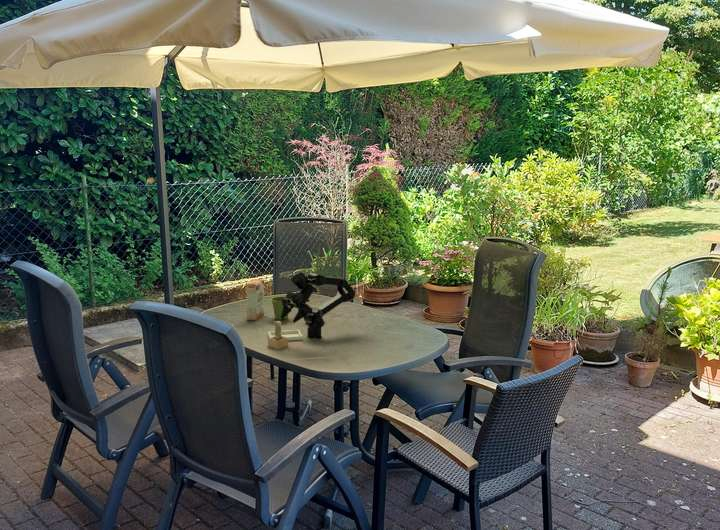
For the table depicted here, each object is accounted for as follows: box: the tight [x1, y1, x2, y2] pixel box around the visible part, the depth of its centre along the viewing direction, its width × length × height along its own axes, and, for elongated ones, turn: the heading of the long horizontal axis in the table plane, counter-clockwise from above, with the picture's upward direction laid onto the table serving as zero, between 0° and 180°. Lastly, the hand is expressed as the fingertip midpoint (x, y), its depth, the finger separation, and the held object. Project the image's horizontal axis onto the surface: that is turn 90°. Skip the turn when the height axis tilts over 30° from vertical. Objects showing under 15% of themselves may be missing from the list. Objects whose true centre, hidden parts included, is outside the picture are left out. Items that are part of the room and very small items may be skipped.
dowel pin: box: [274, 320, 282, 340], centre depth 296 cm, size 3×3×12 cm
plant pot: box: [270, 296, 292, 320], centre depth 348 cm, size 12×12×11 cm
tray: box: [267, 329, 304, 342], centre depth 310 cm, size 16×12×2 cm
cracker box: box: [246, 278, 265, 321], centre depth 348 cm, size 14×6×21 cm, turn 171°
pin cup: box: [267, 336, 289, 350], centre depth 297 cm, size 7×7×4 cm
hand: (287, 320), depth 299 cm, fingers open, 9 cm apart
